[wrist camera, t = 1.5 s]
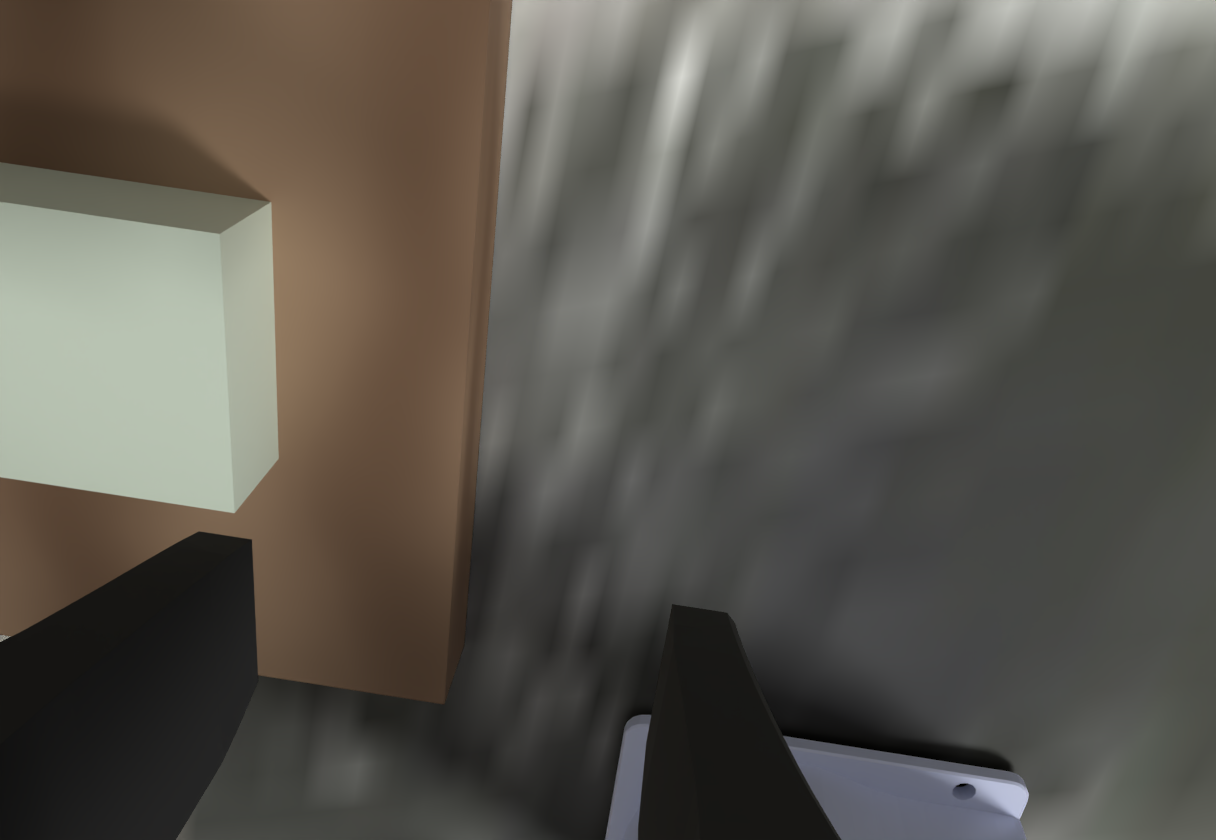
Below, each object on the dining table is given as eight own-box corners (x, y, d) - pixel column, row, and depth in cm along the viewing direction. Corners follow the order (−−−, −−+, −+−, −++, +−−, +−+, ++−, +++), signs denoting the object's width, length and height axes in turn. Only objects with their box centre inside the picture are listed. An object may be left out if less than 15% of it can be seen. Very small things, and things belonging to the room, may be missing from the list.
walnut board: (522, -132, 16) (499, -140, 14) (464, 645, 23) (444, 704, 21) (-315, -247, 16) (-441, -269, 15) (-118, 553, 24) (-186, 605, 22)
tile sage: (271, 201, 17) (219, 233, 15) (278, 459, 19) (234, 513, 17) (-17, 160, 17) (-102, 186, 15) (24, 420, 19) (-46, 470, 17)
